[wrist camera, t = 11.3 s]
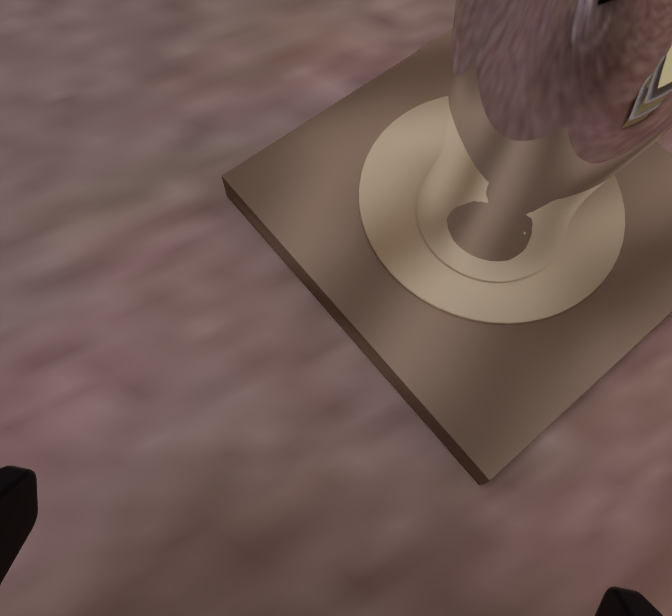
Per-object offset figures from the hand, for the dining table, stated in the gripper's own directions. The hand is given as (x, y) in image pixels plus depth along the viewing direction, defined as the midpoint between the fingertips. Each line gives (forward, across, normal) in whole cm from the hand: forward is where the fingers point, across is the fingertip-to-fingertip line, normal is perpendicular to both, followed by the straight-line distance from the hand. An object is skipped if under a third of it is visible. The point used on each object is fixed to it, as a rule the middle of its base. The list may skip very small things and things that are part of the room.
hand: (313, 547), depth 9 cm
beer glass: (+17, -5, -2) cm, 18 cm away
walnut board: (+19, -5, -2) cm, 20 cm away
